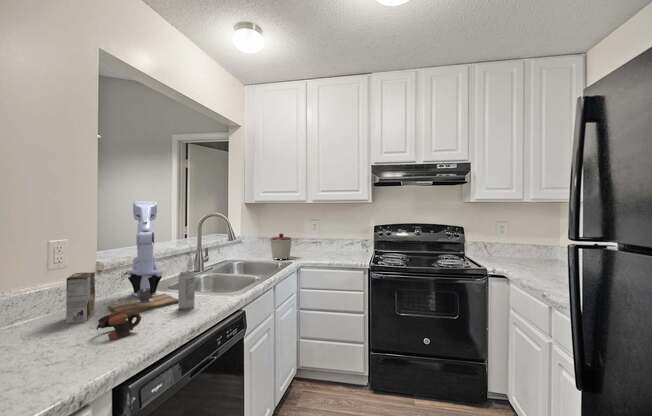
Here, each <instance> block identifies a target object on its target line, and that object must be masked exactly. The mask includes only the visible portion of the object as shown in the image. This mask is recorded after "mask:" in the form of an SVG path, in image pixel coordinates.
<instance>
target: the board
mask: <svg viewBox="0 0 652 416" xmlns="http://www.w3.org/2000/svg"><path fill="white" fill-rule="evenodd" d="M176 304H177V305H178V298H176V297H174V296H171V295H169V294H167V293H163V294H162V293H161V294H155V295H153V296H152V298H150V299H147V300H139V299H137V298H136V299H132V300H126V301H122V302H116V303H111V304H108V305H107V308H108V309H109V310H111V312H113V313H116V312H120V311H125V314H127V315H130V314H132V313H138V314H139V313H142V312H145V311H150V310H154V309H158V308H163V307H167V306H172V305H176Z"/></svg>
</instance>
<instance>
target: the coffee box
mask: <svg viewBox="0 0 652 416" xmlns="http://www.w3.org/2000/svg"><path fill="white" fill-rule="evenodd" d="M95 274H96V272H94V271H93V272H92V271H91V272H75V273H73V274H72V275H69V277H67V278H66V283H65V284H66V290H65V291H66V293H65V294H66V296H65V297H66V299H65V300H66V301H65V304H66V307H65V308H66V309H65V311H66V312H65V317H66V318H65V324H67V325H68V324H76V323H83V322H88V321H90V319H91V318H92V317H93V316H94V314H95V313H96V275H95Z"/></svg>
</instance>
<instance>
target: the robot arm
mask: <svg viewBox="0 0 652 416" xmlns="http://www.w3.org/2000/svg"><path fill="white" fill-rule="evenodd" d="M132 213H133V219H134V220H135V221H137V222H138V223H137V234H136V240H135V241H136V250H137V252H136V253H137V255H136V257H134V258H133V259H132V268H131V270H127V271H128V272H127V273H128V274H127V276H128V277H127V279H128V281H129V282H130V285H131V286H132V290H133V291H132V292H131V293H130V294H131V295H133V296H135V297H137V291H138V290H141V289H148V288H150V294H153V295H158V293H157V289H158V285H159V283H160V281H161V279H162V278H163V271H162V270H157V267H158V263H157V257H156V256H154V245H155V241H156V239H155V236H156V235H155V231H154V223H153V222H152V221H154V220H156V218H157V213H158V202H156V201H136V200H134V201H133V203H132Z"/></svg>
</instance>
